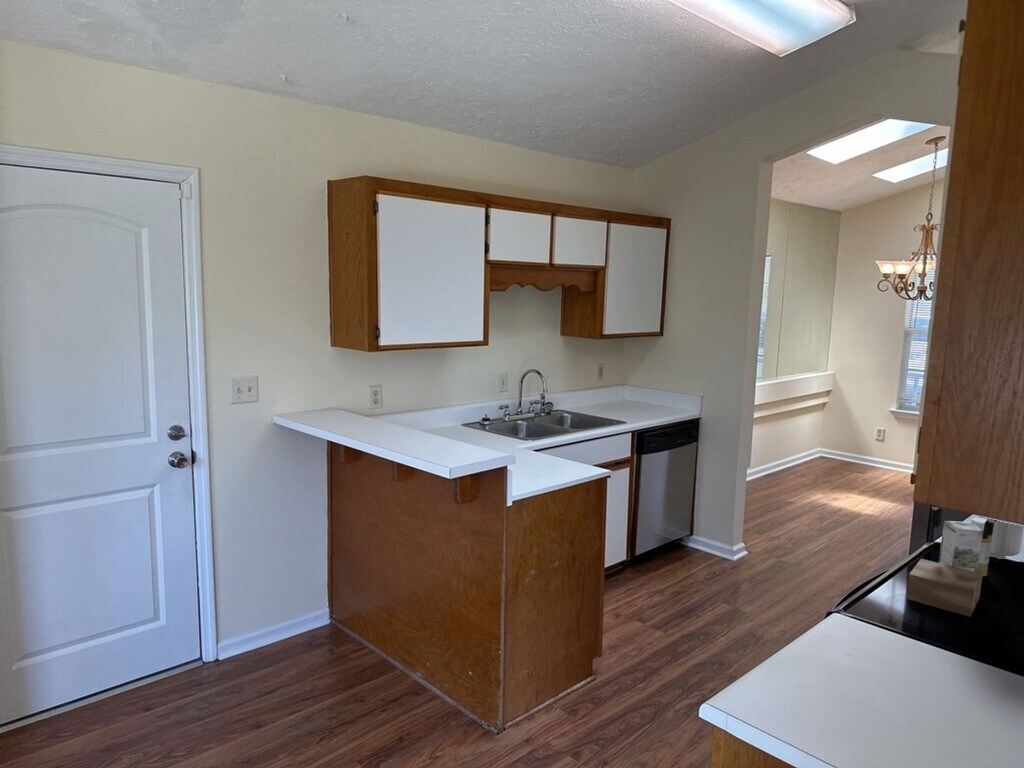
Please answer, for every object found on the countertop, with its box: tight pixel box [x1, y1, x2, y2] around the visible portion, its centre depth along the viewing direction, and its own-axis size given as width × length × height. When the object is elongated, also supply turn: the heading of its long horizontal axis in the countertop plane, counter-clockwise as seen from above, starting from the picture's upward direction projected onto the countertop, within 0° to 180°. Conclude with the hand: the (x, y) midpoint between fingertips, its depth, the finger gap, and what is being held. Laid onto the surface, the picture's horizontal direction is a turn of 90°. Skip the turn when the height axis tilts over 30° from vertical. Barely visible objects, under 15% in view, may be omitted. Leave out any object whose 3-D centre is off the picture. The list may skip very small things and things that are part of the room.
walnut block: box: [905, 558, 983, 618], centre depth 152 cm, size 12×12×6 cm
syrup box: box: [937, 520, 983, 573], centre depth 159 cm, size 6×6×14 cm
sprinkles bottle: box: [970, 517, 994, 577], centre depth 165 cm, size 5×5×13 cm
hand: (961, 531), depth 157 cm, fingers open, 9 cm apart
